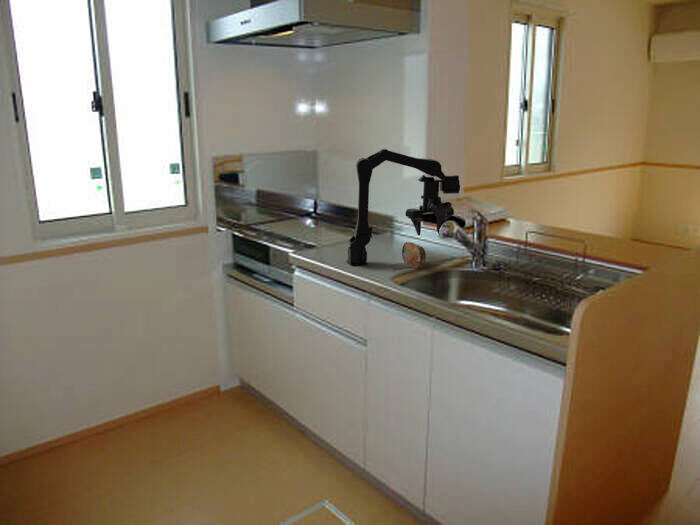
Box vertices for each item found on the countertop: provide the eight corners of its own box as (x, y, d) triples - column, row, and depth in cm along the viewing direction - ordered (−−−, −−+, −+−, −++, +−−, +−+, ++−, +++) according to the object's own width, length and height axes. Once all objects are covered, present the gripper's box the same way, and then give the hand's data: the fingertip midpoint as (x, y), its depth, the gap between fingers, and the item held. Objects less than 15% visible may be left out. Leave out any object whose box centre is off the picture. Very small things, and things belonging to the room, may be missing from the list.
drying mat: (396, 269, 202) (396, 268, 202) (389, 265, 207) (389, 264, 207) (412, 267, 204) (412, 266, 204) (404, 263, 210) (405, 262, 210)
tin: (401, 260, 214) (401, 240, 212) (408, 260, 215) (409, 239, 213) (418, 271, 200) (419, 248, 198) (426, 270, 201) (427, 248, 199)
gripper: (422, 198, 193) (420, 241, 197) (464, 195, 201) (461, 236, 205) (405, 193, 203) (403, 234, 207) (446, 191, 211) (443, 230, 215)
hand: (428, 234), depth 208 cm, fingers open, 9 cm apart
